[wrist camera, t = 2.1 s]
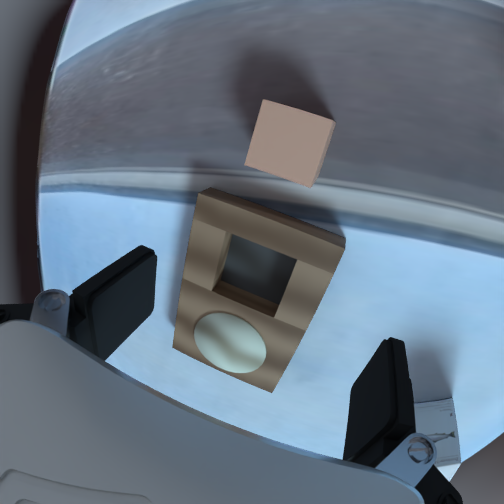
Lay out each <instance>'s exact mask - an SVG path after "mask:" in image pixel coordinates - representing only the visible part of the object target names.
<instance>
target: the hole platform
mask: <svg viewBox="0 0 504 504" xmlns="http://www.w3.org/2000/svg"><path fill="white" fill-rule="evenodd" d="M345 243H346V238H344V237H341V236H339V235H337V234H334V233H332V232H329V231H327V230H324V229H322V228H319V227H316V226H314V225H311V224H309V223H306V222H304V221H301V220H299V219H296V218H293V217H291V216H288V215H285V214H283V213H280V212H277V211H275V210H272V209H269V208H267V207H264V206H261V205H259V204H256V203H253V202H250V201H248V200H245V199H242V198H239V197H236V196H234V195H231V194H228V193H225V192H222V191H219V190H217V189H214V188H211V187H210V188H208V189H206V190H204V191H202V192H199V193H198V197H197V202H196V207H195V212H194V217H193V222H192V227H191V232H190V238H189V243H188V248H187V254H186V260H185V266H184V272H183V278H182V284H181V290H180V297H179V303H178V310H177V317H176V324H175V331H174V339H173V347H172V348H174V349H176V350H178V351H180V352H182V353H184V354H186V355H188V356H190V357H192V358H194V359H196V360H198V361H200V362H202V363H204V364H206V365H208V366H211V367H213V368H215V369H217V370H219V371H221V372H224V373H226V374H228V375H230V376H232V377H235V378H237V379H239V380H242V381H244V382H246V383H249V384H251V385H253V386H256V387H258V388H261V389H263V390H266V391H268V392H271V393H272V392H273V390H274V389H275V387H276V385H277V383H278V382H279V380H280V378H281V376H282V375H283V373H284V371H285V369H286V367H287V366H288V364H289V362H290V360H291V358H292V356H293V355H294V353H295V351H296V349H297V347H298V345H299V343H300V341H301V339H302V338H303V336H304V334H305V332H306V330H307V328H308V326H309V324H310V322H311V320H312V318H313V316H314V314H315V312H316V310H317V308H318V306H319V304H320V302H321V300H322V298H323V296H324V294H325V292H326V289H327V287H328V285H329V283H330V281H331V279H332V277H333V275H334V272H335V270H336V268H337V266H338V264H339V261H340V259H341V257H342V255H343V252H344V250H345Z"/></svg>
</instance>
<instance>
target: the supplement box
mask: <svg viewBox="0 0 504 504" xmlns="http://www.w3.org/2000/svg"><path fill="white" fill-rule="evenodd" d="M414 410H415V423H416V433H422V434H424V435H427V436H428V437H429V438H431V440H432V441H433V442H434V444H435V446H436V449H437V458H436V460H435V462H434V465H435V466H436V467H437V469H438V470H439V471H440V472H441V473H442V474H443V475H444V476H445V478H446V479H447V480H448V481H450V480H451V478H452V477H453V475H454V474H455V472H456V470H457V469H458V467H459V466H460V464H461V456H460V445H459V436H458V429H457V421H456V415H455V408H454V403H453V398H450V399H446V400H440V401H433V402H424V403H414Z"/></svg>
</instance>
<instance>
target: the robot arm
mask: <svg viewBox="0 0 504 504" xmlns="http://www.w3.org/2000/svg"><path fill="white" fill-rule="evenodd" d="M156 267H157V255H155V252H154V250H152V249H150V248H148V247H145V246H143V245H140V246H138V247H137V248H135V249H134V250H132V251H130V252H129V253H127V254H126V255H124V256H123V257H121V258H120V259H118V260H117V261H115V262H114V263H112V264H111V265H109V266H107V267H106V268H104V269H103V270H102V271H100V272H99V273H97V274H96V275H94V276H93V277H91V278H90V279H88V280H87V281H85V282H84V283H82V284H81V285H80V286H78V287H77V288H75V289H74V290H72V292H73V294H71V295H70V296H68V294H67V293H66V292H64V291H62V290H58V289H49V290H46V291H43V292H42V293H40V294H39V295H38V296H37V297H36V299H35V302H34V303H33V304H3V305H2V304H1V305H0V504H463V501H462V497H461V495H460V494H459V492H458V491H457V490H456V489H455V488H454V487H453V486H452V484H451V483H450V482H449V481H448V480H447V479H446V478H445V476H444V475H443V474H442V473H441V472H440V471H439V470H438V469H437V467H436V466H435V465H434V462H435V460H436V458H437V449H436V446H435V444H434V442H433V441H432V440H431V438H429V437H428V436H427V435H424V434H422V433H416V423H415V410H414V400H413V391H412V383H411V379H410V378H409V371H408V364H407V357H406V350H405V344H404V342H403V341H401V340H398V339H395V338H392V337H390V338H389V339H388V340H386V339H384V340H383V341H382V343H381V344H380V346H379V347H378V349H377V350H376V352H375V353H374V355H373V356H372V358H371V359H370V361H369V362H368V364H367V365H366V367H365V368H364V370H363V371H362V373H361V374H360V375H359V377H358V378H357V380H356V381H355V382H354V384H353V386H352V388H351V394H350V405H349V414H348V423H347V432H346V439H345V447H344V454H343V460H341V459H337V458H333V457H329V456H325V455H322V454H318V453H314V452H311V451H307V450H304V449H300V448H297V447H293V446H290V445H287V444H284V443H281V442H277V441H274V440H271V439H268V438H265V437H263V436H260V435H257V434H254V433H251V432H249V431H246V430H243V429H241V428H238V427H236V426H233V425H230V424H228V423H225V422H223V421H221V420H218V419H216V418H213V417H211V416H209V415H206V414H204V413H202V412H200V411H197V410H195V409H193V408H191V407H189V406H187V405H184V404H182V403H180V402H178V401H176V400H174V399H172V398H170V397H168V396H166V395H164V394H162V393H160V392H158V391H156V390H154V389H152V388H150V387H149V386H147V385H145V384H143V383H141V382H139V381H138V380H136V379H134V378H132V377H130V376H129V375H127V374H125V373H123V372H122V371H120V370H118V369H117V368H115V367H113V366H112V365H110V364H108V363H107V362H105V360H106V359H107V358H108V357H109V356H110V355H111V354H112V353H113V352H114V351H115V350H116V349H117V348H118V347H119V346H120V345H121V344H122V343H123V342H124V341H125V340H126V339H127V338H128V337H129V336H130V335H131V334H132V333H133V332H134V331H135V330H136V329H137V328H138V327H139V326H140V325H141V324H142V323H143V322H144V321H145V320H146V319H147V318H148V317H149V316H150V315H151V313H152V312H153V309H154V299H155V281H156Z"/></svg>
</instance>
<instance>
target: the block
mask: <svg viewBox="0 0 504 504" xmlns="http://www.w3.org/2000/svg"><path fill="white" fill-rule="evenodd" d="M335 125H336V123H335V122H334V121H333V120H330V119H327V118H324V117H321V116H318V115H315V114H312V113H309V112H306V111H303V110H300V109H296V108H293V107H290V106H286V105H283V104H279V103H276V102H272V101H268V100H264V99H263V101H262V105H261V108H260V112H259V115H258V119H257V122H256V126H255V129H254V133H253V136H252V140H251V143H250V147H249V150H248V154H247V158H246V161H245V165H246V166H250V167H253V168H256V169H259V170H261V171H264V172H267V173H270V174H273V175H276V176H279V177H282V178H285V179H287V180H290V181H293V182H296V183H298V184H301V185H304V186H306V187H309V188H311V187H312V185H313V184H314V182H315V181H316V179H317V178H318V175H319V172H320V169H321V167H322V164H323V161H324V158H325V155H326V152H327V149H328V146H329V143H330V140H331V137H332V134H333V131H334V128H335Z"/></svg>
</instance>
